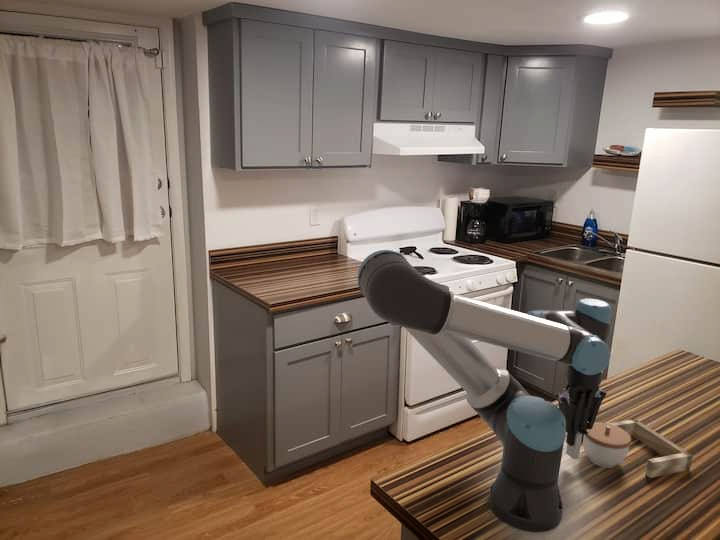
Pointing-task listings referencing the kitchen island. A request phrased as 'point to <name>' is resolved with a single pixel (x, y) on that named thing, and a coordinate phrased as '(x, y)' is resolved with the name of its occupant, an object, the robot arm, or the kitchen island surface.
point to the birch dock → (658, 449)
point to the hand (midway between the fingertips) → (572, 455)
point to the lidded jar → (606, 444)
